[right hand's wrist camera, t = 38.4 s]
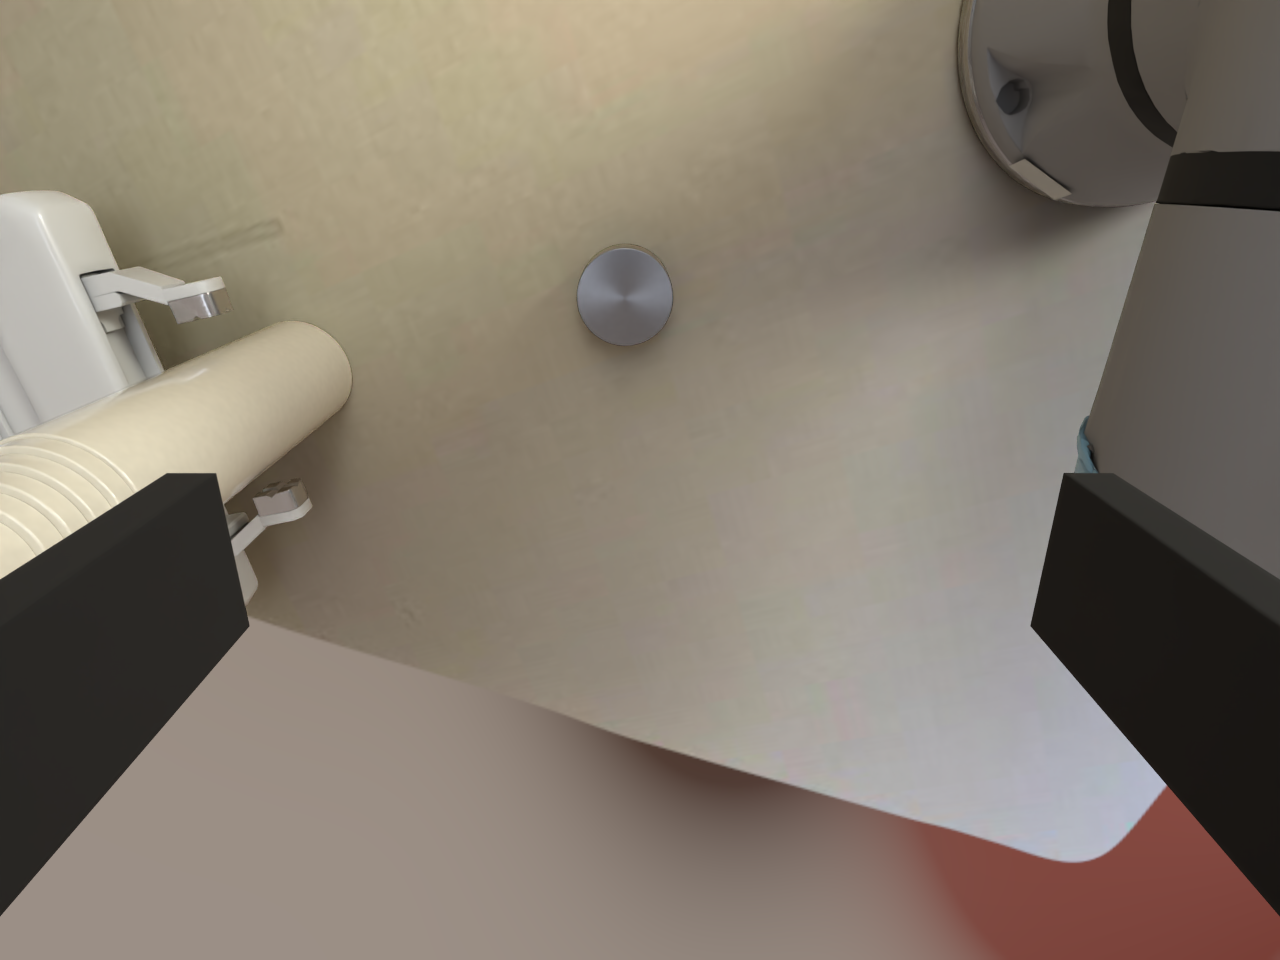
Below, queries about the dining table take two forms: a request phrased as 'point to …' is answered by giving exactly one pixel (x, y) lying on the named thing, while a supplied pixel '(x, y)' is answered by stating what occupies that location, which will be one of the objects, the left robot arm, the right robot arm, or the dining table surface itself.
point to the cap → (625, 295)
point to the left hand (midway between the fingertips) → (264, 401)
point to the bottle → (169, 433)
